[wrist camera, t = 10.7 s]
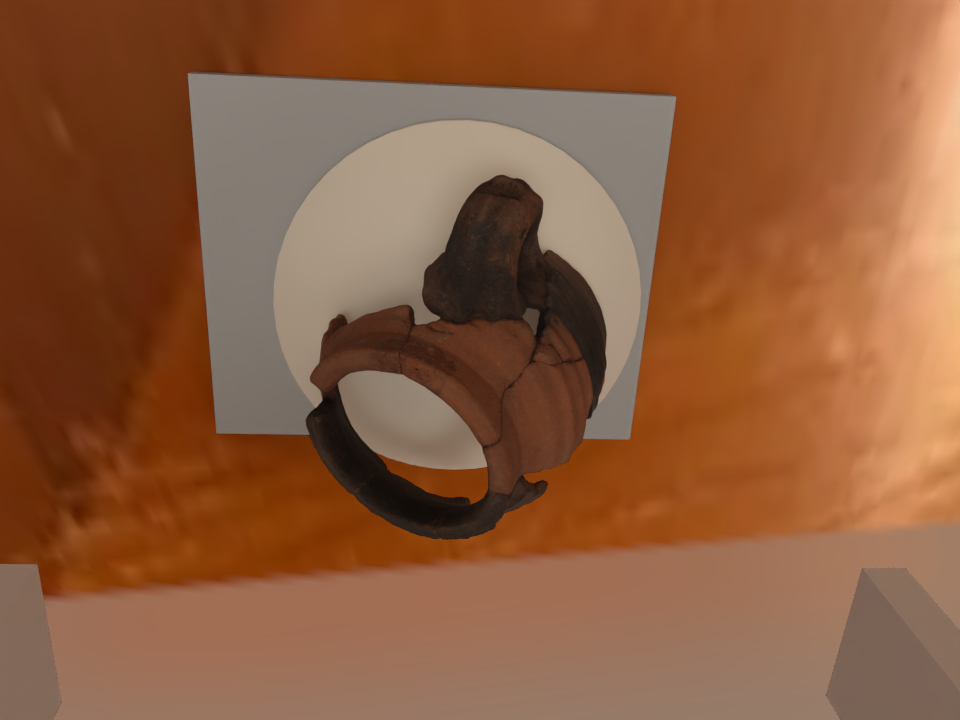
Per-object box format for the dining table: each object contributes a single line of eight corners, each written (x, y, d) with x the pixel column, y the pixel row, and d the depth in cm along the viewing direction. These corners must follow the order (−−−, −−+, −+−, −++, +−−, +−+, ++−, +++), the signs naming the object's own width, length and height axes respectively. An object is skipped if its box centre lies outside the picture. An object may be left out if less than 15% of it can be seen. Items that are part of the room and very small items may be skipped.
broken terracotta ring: (607, 445, 33) (529, 602, 27) (394, 371, 36) (280, 498, 29) (670, 157, 25) (584, 283, 19) (397, 91, 28) (245, 184, 22)
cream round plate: (284, 457, 32) (281, 467, 32) (268, 109, 27) (264, 112, 27) (614, 461, 33) (618, 471, 33) (657, 126, 28) (663, 129, 28)
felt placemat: (221, 423, 33) (216, 433, 32) (193, 71, 28) (187, 73, 27) (625, 430, 34) (629, 439, 33) (669, 94, 29) (676, 96, 28)
